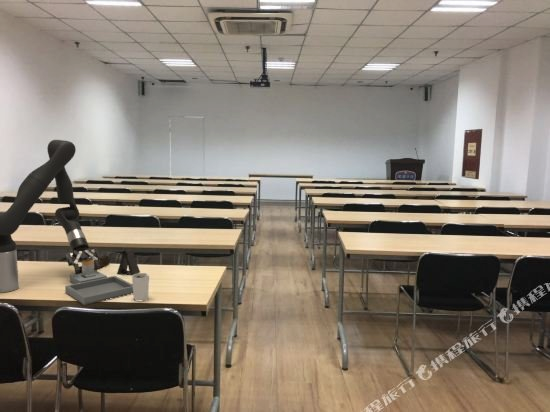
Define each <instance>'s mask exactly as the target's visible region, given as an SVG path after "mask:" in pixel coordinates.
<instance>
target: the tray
mask: <svg viewBox="0 0 550 412" xmlns="http://www.w3.org/2000/svg"><path fill="white" fill-rule="evenodd" d="M64 288H65V290H64V291H65V294H66V295H68V296H70V297H71V298H72V299H75V300H76V302H79V303H80V304H82V305H83V306H87V305H92V304H96V303H100V302H103V301H102V300H104V301H107V300H106V299H109V300H111V299H110V298H113V299H116V298H115V297H117V298H120V297H119V296H121V297H124V296H123V295H125V296H128V295H127V294H129V295H132V294H131V293H133V283H130V282H129V281H126V280H125V279H123V278H121V277H118V276H117V275H111V276H107V278H102V279H97V280H92V281H87V282H82V283H77V284H73V283H72V284H68V285H65V287H64Z"/></svg>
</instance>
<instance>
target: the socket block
mask: <svg viewBox="0 0 550 412" xmlns="http://www.w3.org/2000/svg"><path fill="white" fill-rule="evenodd" d="M94 274H95V276H93V277H88V278H84V277H82V273H80V274H70V275H69V281H70V283H72V284H77V283H82V282H87V281H92V280H97V279H102V278H107V277H108V276H107V275H106V274H104V273H101V272H100V271H98V270H94Z"/></svg>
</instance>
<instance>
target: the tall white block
mask: <svg viewBox="0 0 550 412" xmlns="http://www.w3.org/2000/svg"><path fill="white" fill-rule="evenodd" d="M81 266H82V277H84V278H88V277H93V276H95V274H94V271H95V270H94V261H93V260H91V259H90V260H88V259H87V260H82V261H81Z"/></svg>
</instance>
